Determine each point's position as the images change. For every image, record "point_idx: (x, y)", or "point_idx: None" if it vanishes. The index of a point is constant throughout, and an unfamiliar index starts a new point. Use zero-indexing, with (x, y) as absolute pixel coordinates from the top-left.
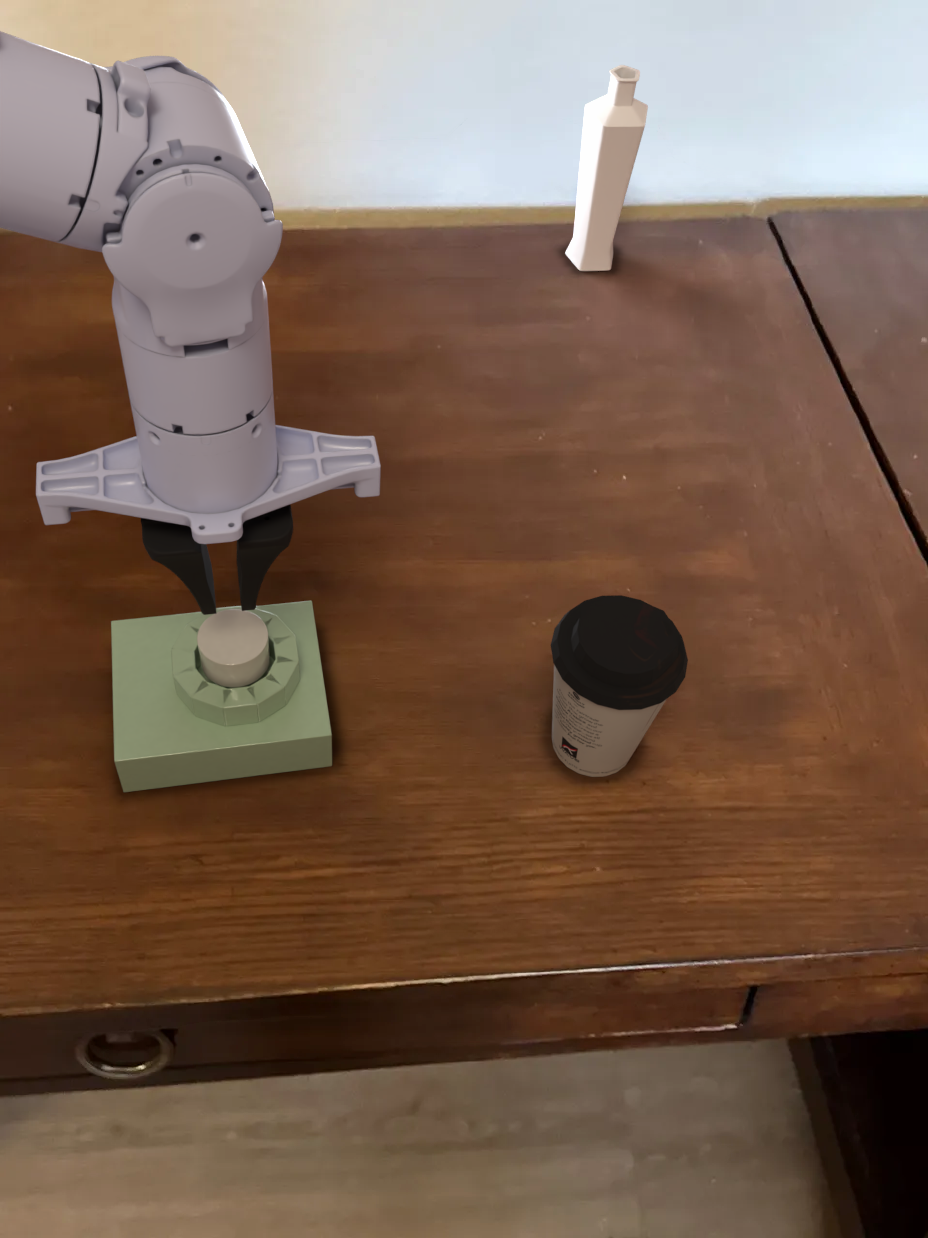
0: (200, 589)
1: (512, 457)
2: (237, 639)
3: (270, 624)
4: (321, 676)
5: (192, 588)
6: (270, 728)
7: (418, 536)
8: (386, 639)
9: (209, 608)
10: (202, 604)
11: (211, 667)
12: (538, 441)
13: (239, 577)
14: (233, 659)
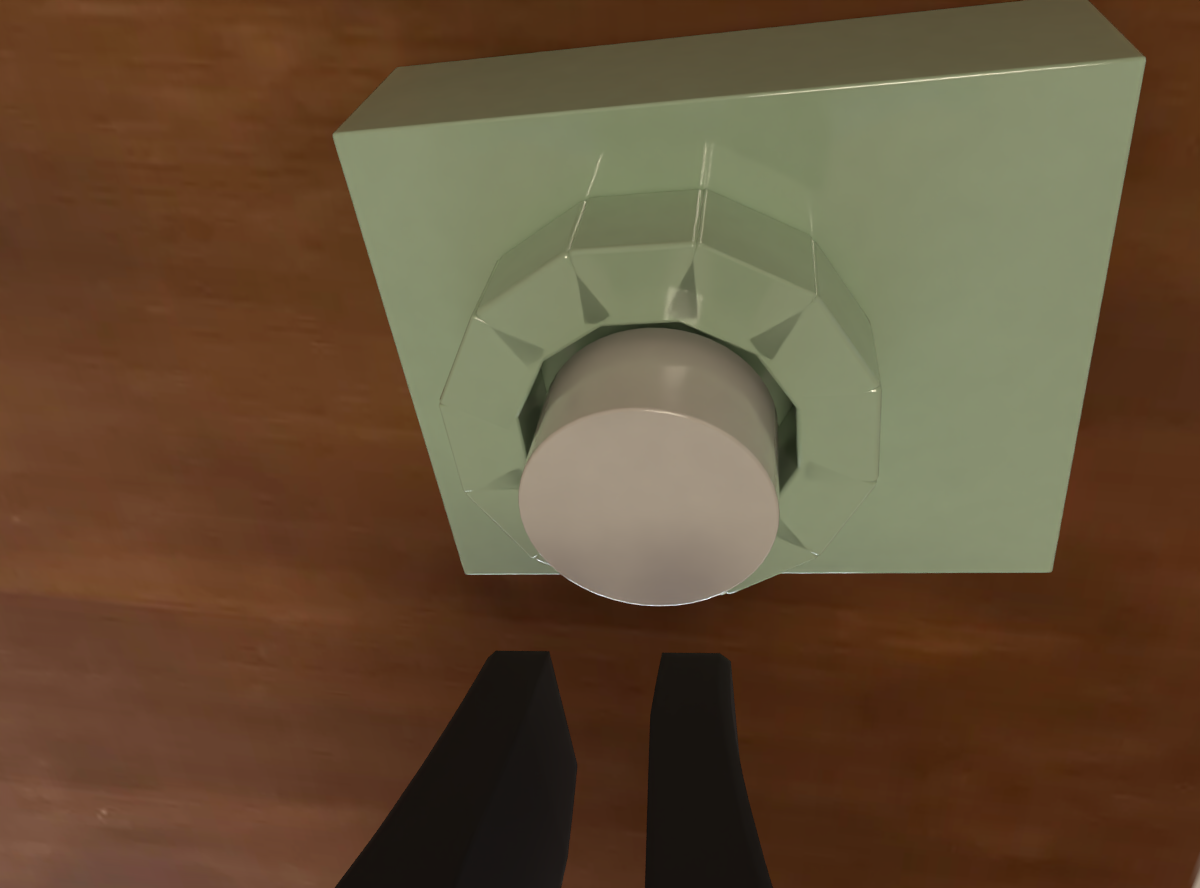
0: (697, 861)
1: (144, 787)
2: (627, 503)
3: None
4: (402, 351)
5: (741, 881)
6: (546, 173)
7: (292, 667)
8: (314, 446)
9: (683, 695)
10: (710, 732)
11: (731, 405)
12: (105, 807)
13: (523, 836)
14: (639, 430)
